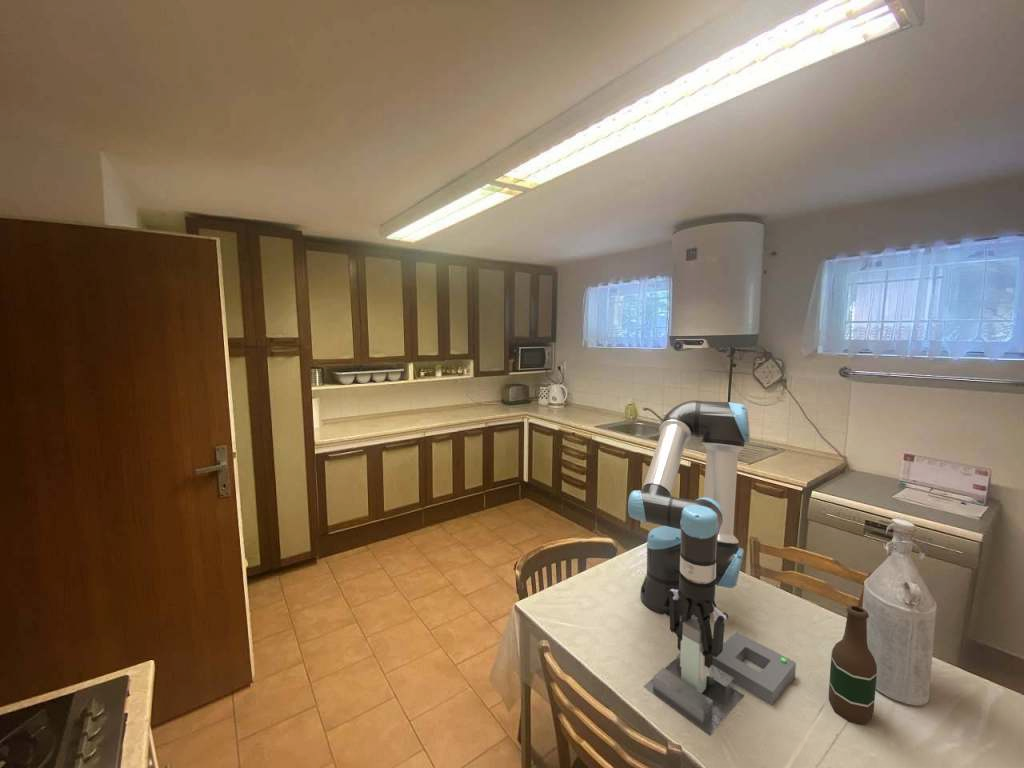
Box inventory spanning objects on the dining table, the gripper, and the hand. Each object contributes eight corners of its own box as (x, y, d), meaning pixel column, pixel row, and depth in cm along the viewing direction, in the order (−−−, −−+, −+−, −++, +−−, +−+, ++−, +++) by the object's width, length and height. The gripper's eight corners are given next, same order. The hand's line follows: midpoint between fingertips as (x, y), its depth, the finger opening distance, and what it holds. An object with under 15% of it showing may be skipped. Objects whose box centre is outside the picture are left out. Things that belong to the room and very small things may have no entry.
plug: (680, 686, 98) (682, 622, 97) (689, 677, 101) (691, 615, 99) (697, 697, 95) (699, 632, 93) (706, 688, 98) (708, 624, 96)
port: (710, 670, 105) (710, 653, 104) (735, 645, 113) (736, 629, 113) (771, 708, 94) (772, 689, 93) (794, 677, 102) (796, 660, 102)
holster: (643, 689, 99) (643, 672, 99) (679, 658, 109) (680, 642, 109) (709, 739, 87) (710, 720, 86) (744, 698, 96) (745, 681, 96)
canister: (869, 698, 96) (882, 532, 92) (850, 649, 112) (860, 505, 108) (944, 720, 90) (961, 544, 87) (913, 665, 106) (926, 514, 102)
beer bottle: (819, 697, 97) (826, 599, 94) (850, 694, 97) (858, 597, 95) (849, 727, 89) (857, 621, 87) (882, 724, 90) (891, 619, 87)
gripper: (654, 565, 99) (652, 656, 102) (727, 599, 86) (723, 703, 88) (672, 555, 104) (669, 642, 106) (744, 586, 91) (739, 685, 93)
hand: (694, 670), depth 97 cm, fingers closed on plug, 4 cm apart
